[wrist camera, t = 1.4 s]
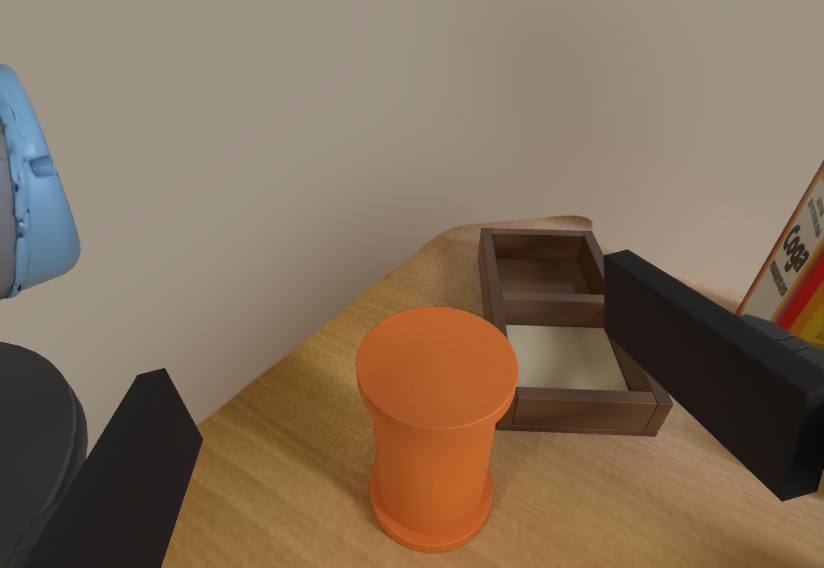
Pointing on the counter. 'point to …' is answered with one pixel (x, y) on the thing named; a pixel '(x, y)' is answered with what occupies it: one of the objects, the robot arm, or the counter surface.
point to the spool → (434, 422)
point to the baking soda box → (795, 272)
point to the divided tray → (563, 337)
